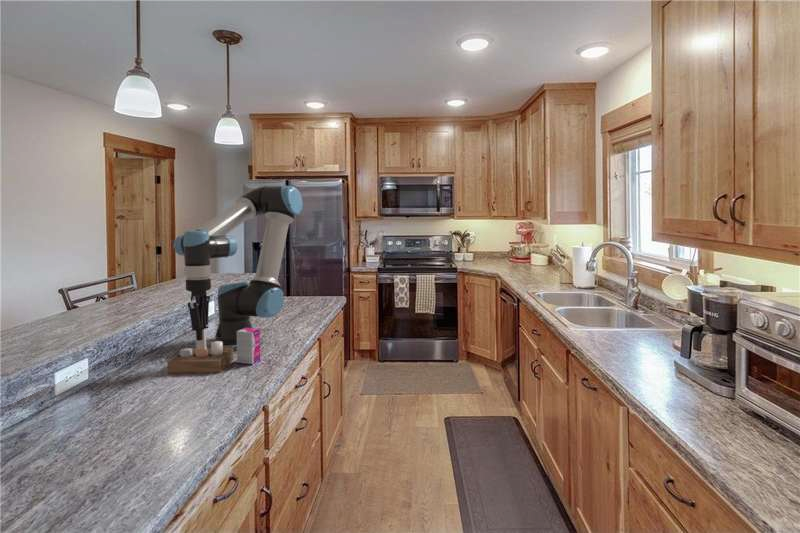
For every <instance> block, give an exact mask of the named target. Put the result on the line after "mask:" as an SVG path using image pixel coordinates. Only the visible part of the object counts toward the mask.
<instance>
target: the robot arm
mask: <svg viewBox="0 0 800 533" xmlns="http://www.w3.org/2000/svg"><path fill="white" fill-rule="evenodd" d="M302 197H303V196H302V195H301V192H300V191H299V190H298V189H297V188H296V187H295V186H293V185H285V184H284V185H272V186H268V185H266V186H265V185H264V186H260V187H256V188H254V189H252V190H250V191H248V192H247V193H245V194H243V195H241V196H240V197H238V198H237V199H236V201H235V203H233V205H232V206H230V207H228V208H227V209H225V210H224V211H222V212H220V214H218V215H217V216H215V217H213V218H211V219H210V220H209V221H207V222H206V223H204V224H203V225H201V226H200V227H198V228H197V229H195V230H187V231H184V233H183V234H180V235H178V236H177V237H175V239H174V240H173V249H174V251H175V253H176V254H178V255H179V256H181V257H183V258H184V268H183V271H185V272H184V273H185V278H186V280H185V291H187V292H190V293H191V294H190V295H191V296H190V302H187V307H188V312H189V316H190V323H191V329H192V331H195V349H196V350H204V349H206V348H207V334H206V332H207V331H206V330H207V329H209V326H208V325H209V311H210V309H209V308H210V295H207V291H209V290H211V289H212V283H211V280H212V279H211V278H210V277H211V275H212V274H211V259H219V258H229V257H233V256H235V254H237V251H238V242H237V240H236V239H235V237H234V236H232V235H227V234H229V233H230V232H232V231H233V230H234V229H236V228H237V227H239V226H240V225H241V224H243V223H244V222H246V221H247V220H253V219H254V218H255V217H258V216H262V215H263V216H264V217H265V218H266V225H265V230H264V235H263V239H262V245H261V247H260V248H261V249H260V254H259V257H258V263H257V268H256V272H255V277H253V278H251V279H250V281H249V282H248V281H238V282H230V283H226V284H221V285H220V286H218V288H217V306H218V324H217V328H216V332H215V335H214V339H215V340H214V342H215V341H222V342H223V345H237V331H239V330H241V329H243V328H254V326H253V325H252V322H251V317H254V318H255V317H257V318H261V319H266V318H269V319H270V318H273V317H275V316H277V315H278V314H279V313H280V312H281V311H282V309H283V306H284V303H285V296H284V295H285V294H284V291H283V290H282V289H281V284H280V283H279V275H280V270H281V265H282V260H283V256H284V250H285V246H286V242H287V234H288V231H289V225H290V224H292V223H293V222H294V220H295V216H297V215H300V214H301V212H302V210H303V198H302Z"/></svg>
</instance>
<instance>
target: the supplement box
mask: <svg viewBox="0 0 800 533" xmlns="http://www.w3.org/2000/svg"><path fill="white" fill-rule="evenodd" d="M260 361H261V328H258V327H253V328H243V329H241V330H239V331H237V344H236V363H237V365H239V366H241V365H242V366H253V365H254V364H256V363H258V362H260Z"/></svg>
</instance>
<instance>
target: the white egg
mask: <svg viewBox="0 0 800 533" xmlns="http://www.w3.org/2000/svg"><path fill="white" fill-rule="evenodd" d="M223 345H224V344H223V342H222V341H215V340H214V341H211V343H210V349H211V356H223V348H224V346H223Z"/></svg>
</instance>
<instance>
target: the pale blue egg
mask: <svg viewBox="0 0 800 533" xmlns="http://www.w3.org/2000/svg"><path fill="white" fill-rule="evenodd" d="M192 349H193V348H192V347H189V348H182V349H180V352H179V353H180V357H191V356H192Z"/></svg>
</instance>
